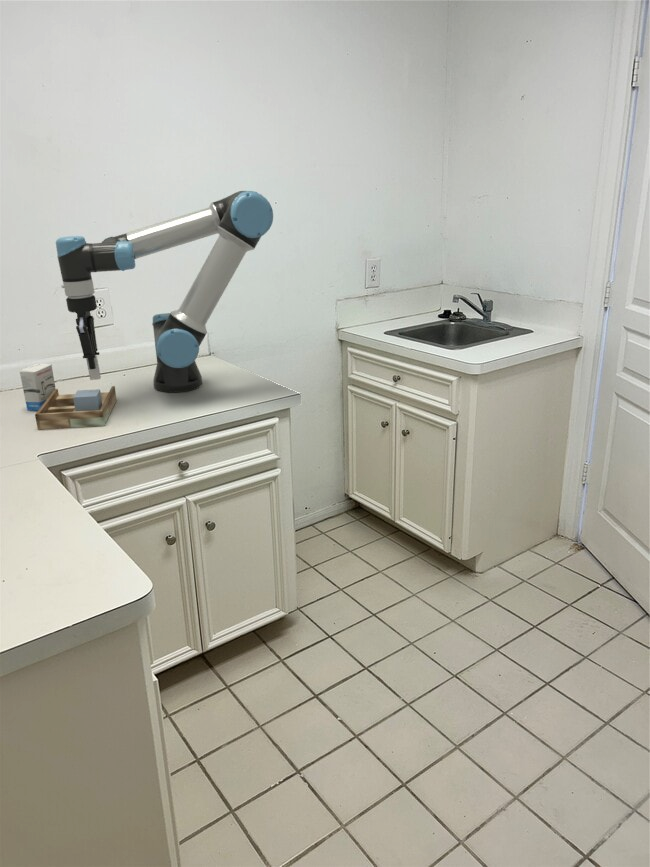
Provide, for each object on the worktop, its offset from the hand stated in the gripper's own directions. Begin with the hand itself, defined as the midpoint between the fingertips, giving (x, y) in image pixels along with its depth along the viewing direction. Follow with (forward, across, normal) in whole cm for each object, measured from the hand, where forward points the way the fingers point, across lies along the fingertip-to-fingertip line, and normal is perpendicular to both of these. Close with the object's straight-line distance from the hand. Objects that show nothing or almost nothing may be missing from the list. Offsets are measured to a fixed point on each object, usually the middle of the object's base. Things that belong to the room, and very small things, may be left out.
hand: (95, 378), depth 183 cm
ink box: (+8, -3, -17) cm, 19 cm away
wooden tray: (+8, +6, -5) cm, 11 cm away
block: (+6, +11, -1) cm, 12 cm away
